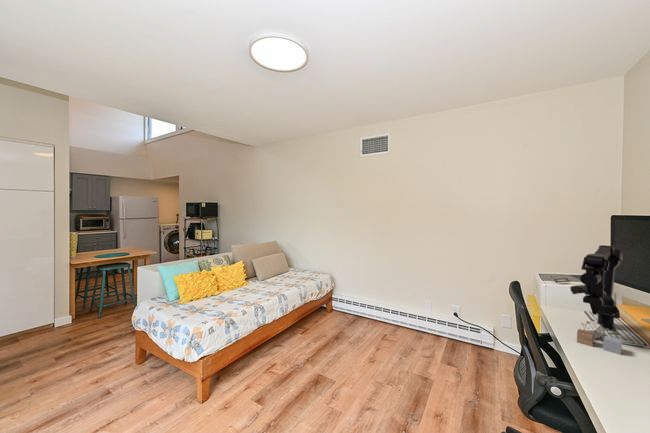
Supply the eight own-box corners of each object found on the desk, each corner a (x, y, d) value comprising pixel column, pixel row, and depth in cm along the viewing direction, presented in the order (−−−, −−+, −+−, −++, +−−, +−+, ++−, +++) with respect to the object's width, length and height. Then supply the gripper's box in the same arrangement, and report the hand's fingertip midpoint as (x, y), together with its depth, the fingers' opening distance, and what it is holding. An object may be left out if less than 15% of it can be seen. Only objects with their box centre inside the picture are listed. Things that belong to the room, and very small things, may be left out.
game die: (599, 346, 123) (617, 336, 117) (580, 339, 125) (597, 328, 119) (591, 330, 130) (608, 319, 124) (572, 323, 132) (588, 312, 125)
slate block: (604, 346, 117) (604, 335, 117) (621, 350, 113) (621, 339, 113) (603, 350, 114) (603, 339, 114) (620, 355, 110) (621, 343, 110)
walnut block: (578, 338, 124) (578, 328, 124) (593, 343, 120) (593, 332, 120) (576, 342, 121) (577, 331, 121) (592, 346, 117) (592, 336, 117)
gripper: (575, 275, 135) (574, 304, 136) (568, 282, 124) (567, 314, 124) (606, 279, 127) (605, 310, 128) (602, 287, 115) (601, 322, 116)
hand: (594, 314), depth 124 cm, fingers closed
